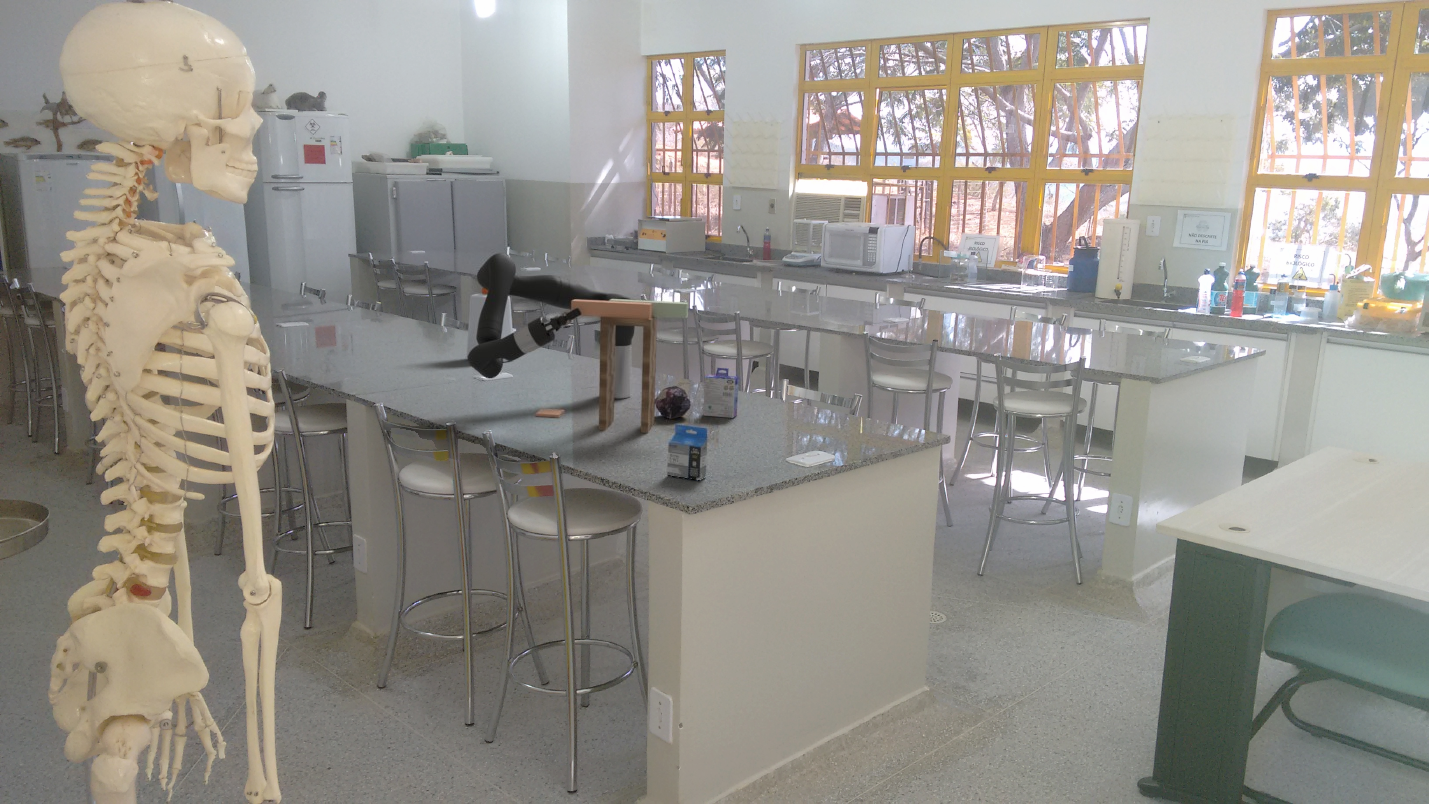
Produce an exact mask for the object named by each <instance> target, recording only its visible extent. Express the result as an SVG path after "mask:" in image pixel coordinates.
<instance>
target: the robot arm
mask: <svg viewBox="0 0 1429 804" xmlns="http://www.w3.org/2000/svg"><path fill="white" fill-rule="evenodd" d="M516 272H517V268H516V264H515V262H514V259H513V258H512V257H511V256H509V255H508V254H505V253H502V252H500V253H499V252H498V253H495V254H493V255H490V257H489V258H488V259H487V260H486V261H485V262H484V263H483V264H482V266H481V267H480V268H479V270H478V271H477V274H476V279H477V282H478V284H479V285H480V286H481V287H482V288H485V289H486V290H488V294H487V297H486V300H485V303H484V305H483V308H482V311H481V314H480V317H479V322H478V328H477V335H476V339H477V342H478V344H479V345H477V346H475V347H474V348H473V349H472V350H471V351H470V352H469V354H468V359H467V362H468V364H469V366H471V368H473V369H474V370H475V371H476V372H477V373H479V374H480V375H481V376H483V377H484V378H486V379H494V378H496V377H497V376H498V375H499V374H500V373H501V371H502V369H503V367H504V362H503V359H506V360H508V361H507V362H513V361H515V360H518V359H519V358H521V357H523V356H525V355H527V354H529V353H532V352H534V351H537V350H538V349H540V348H542V347H543V346H546V345H548V344H549V343H551V342H553V341H555V339H556V335H555V334H556V333H555V332H559V331H561V330H562V329H564V328H565V327H566V326H568V325H569V324H571V323H572V322H573V320H575V319H577V318H578V317H580V315H581V314H582V313H581V311H580V309H579V308H576V309H574V310H572V311H571V301H572V300H574V299H578V300H599V301H609V300H611V299H625V300H632V298H630V297H629V296H627V295H622V294H618V293H613V292H604V291H601V290H594V289H591V288H588V287H586V286H584V285H582V284H580V283H578V282H576V281H574V280H571V279H569V278H565V277H561V276H557V275H553V274H540V275H539V274H538V275H518V274H517V273H516ZM508 296H512V297H513V296H514V297H517V298H518V297H519V298H524V299H527V300H531V301H534V302H538V303H542V304H545V305H548V306H552V307H555V308H558V309H559V308H560V309H563V310H569V311H568V312H567V311H565V312H562V313H560V314H559V315H555V316H553V317H551V318H549V320H550V321H548V320H547V318H545V317H544V316H539V317H538V318H536V319H534V320H532V321H530V322H528V323H525V325H523V326H521V327H519V328H518V329H517V330H515V331H514V332H513V333H512V334H510V335H508V336H506V337H504V338H502V339H501V335H502V328H503V320H504V313H505V308H506V303H507V299H508ZM635 327H636V326H622V325H616V327H615V381H614V399H627V398H630V397H631V393H632V391H631V390H632V389H631V386H632V381H631V380H632V347H633V346H632V345H633V344H632V340H633V338H634V335H635ZM554 330H555V332H554Z"/></svg>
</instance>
